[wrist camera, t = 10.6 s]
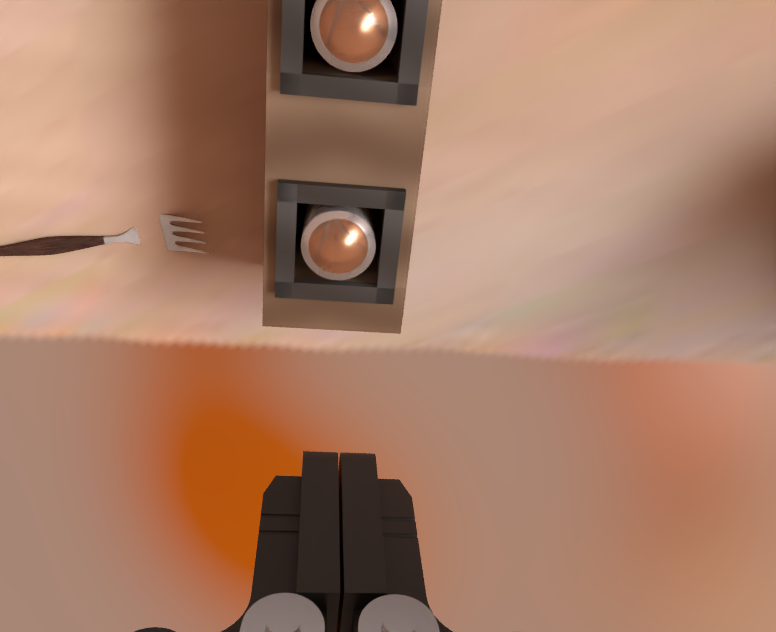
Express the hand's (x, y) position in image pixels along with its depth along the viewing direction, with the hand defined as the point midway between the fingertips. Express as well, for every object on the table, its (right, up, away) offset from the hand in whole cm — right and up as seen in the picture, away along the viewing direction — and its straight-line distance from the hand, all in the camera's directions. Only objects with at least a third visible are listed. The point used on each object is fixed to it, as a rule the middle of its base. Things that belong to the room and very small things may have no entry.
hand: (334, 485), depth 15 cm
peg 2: (-2, +11, +30) cm, 32 cm away
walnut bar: (-1, +16, +28) cm, 32 cm away
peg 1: (-1, +21, +25) cm, 33 cm away
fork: (-18, +9, +31) cm, 37 cm away
